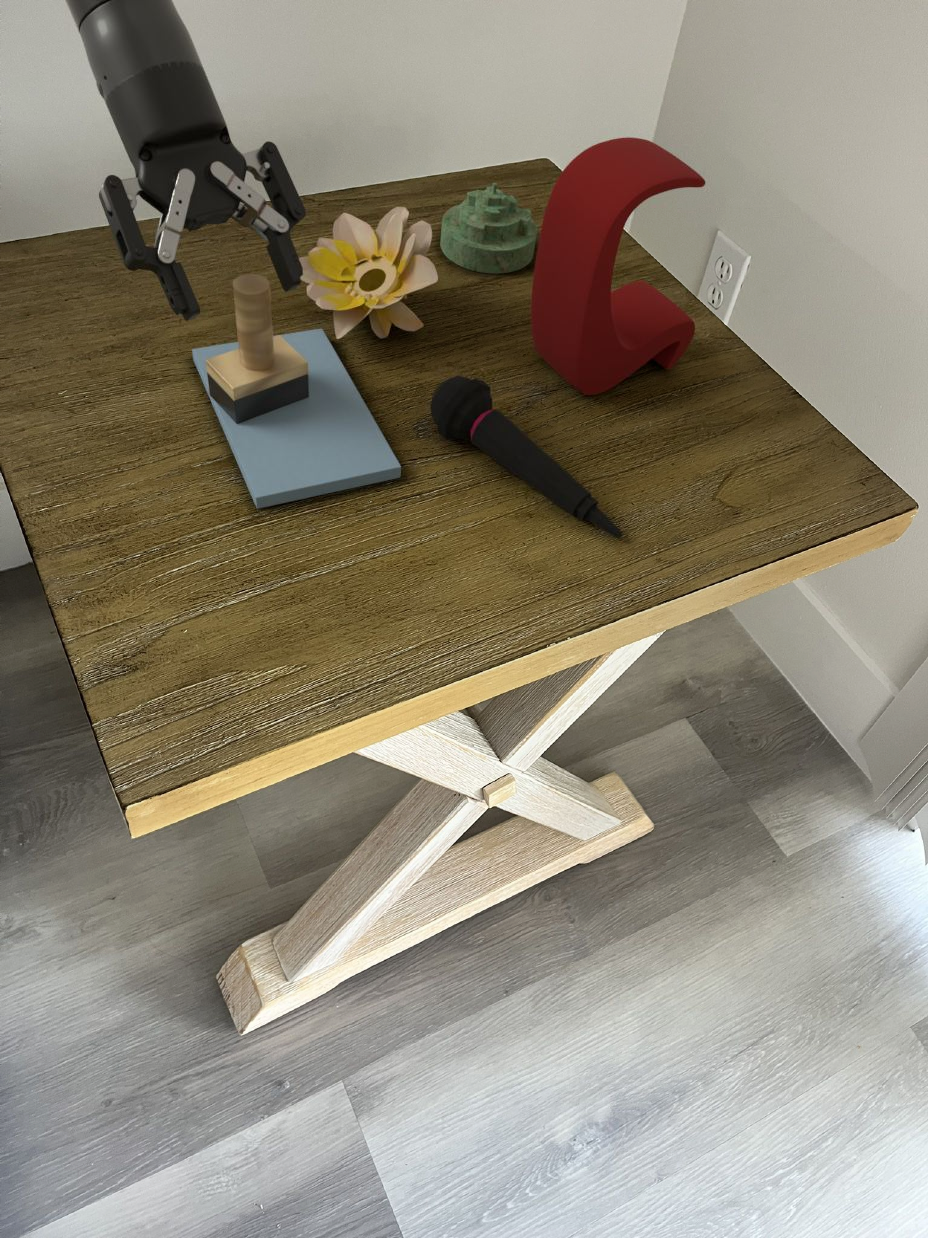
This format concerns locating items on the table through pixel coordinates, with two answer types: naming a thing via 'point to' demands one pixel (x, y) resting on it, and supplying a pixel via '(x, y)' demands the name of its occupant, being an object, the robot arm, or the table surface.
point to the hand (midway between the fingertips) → (245, 301)
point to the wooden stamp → (256, 359)
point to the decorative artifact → (488, 233)
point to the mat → (307, 432)
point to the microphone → (510, 446)
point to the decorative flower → (370, 272)
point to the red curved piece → (604, 269)
